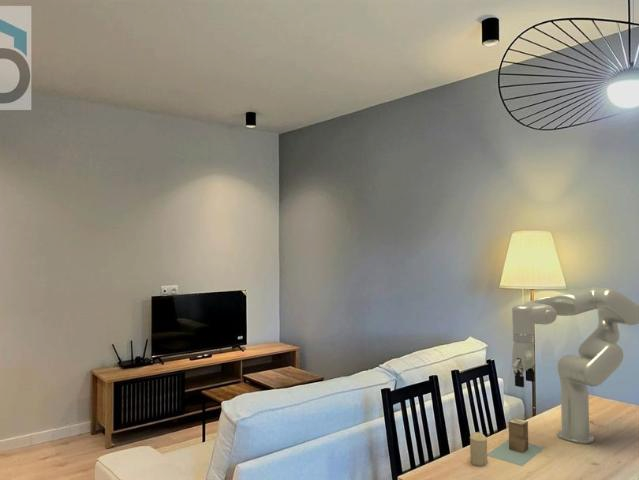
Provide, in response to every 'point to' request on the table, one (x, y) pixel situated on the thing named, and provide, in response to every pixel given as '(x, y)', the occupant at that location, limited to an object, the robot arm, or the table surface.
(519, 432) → the block
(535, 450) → the mat
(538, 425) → the table surface
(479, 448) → the candle
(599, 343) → the robot arm
